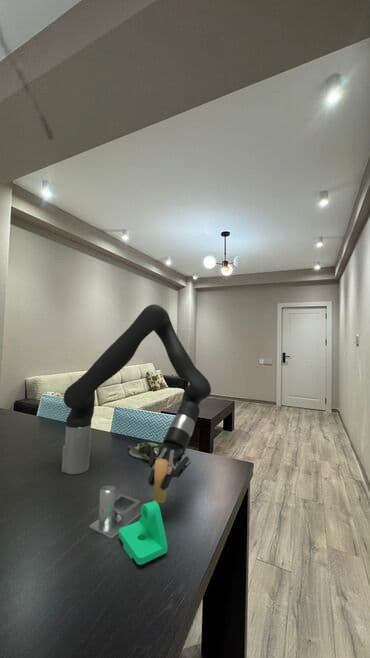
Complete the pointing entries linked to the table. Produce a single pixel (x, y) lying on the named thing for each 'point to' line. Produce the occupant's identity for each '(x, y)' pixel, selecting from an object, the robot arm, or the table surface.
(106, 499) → the clear post on plate
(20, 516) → the table surface
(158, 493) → the tan rounded cylinder
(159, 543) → the camera mount
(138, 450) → the salad plate
